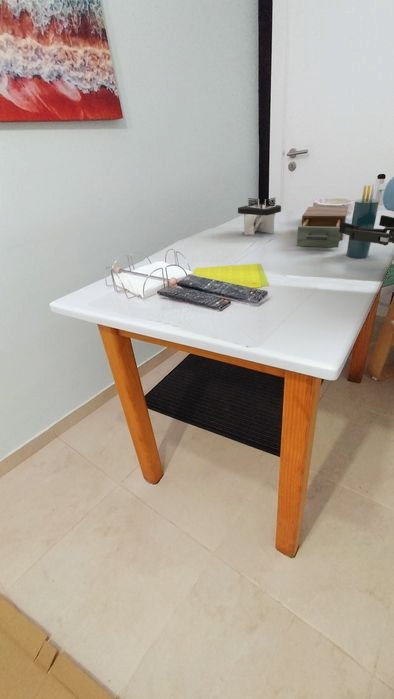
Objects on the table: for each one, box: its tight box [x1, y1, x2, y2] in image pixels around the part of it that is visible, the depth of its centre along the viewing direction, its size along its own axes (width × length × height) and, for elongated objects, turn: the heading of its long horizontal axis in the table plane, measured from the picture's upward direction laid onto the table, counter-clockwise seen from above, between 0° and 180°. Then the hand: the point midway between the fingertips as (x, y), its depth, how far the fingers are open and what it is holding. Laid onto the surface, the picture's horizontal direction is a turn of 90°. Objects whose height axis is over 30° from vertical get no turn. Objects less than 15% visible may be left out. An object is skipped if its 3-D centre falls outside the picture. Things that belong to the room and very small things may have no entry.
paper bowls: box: [312, 197, 355, 217], centre depth 135 cm, size 15×15×8 cm
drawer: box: [296, 218, 341, 248], centre depth 109 cm, size 19×13×6 cm
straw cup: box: [346, 183, 380, 259], centre depth 95 cm, size 6×6×19 cm
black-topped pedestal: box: [237, 196, 282, 236], centre depth 126 cm, size 28×26×13 cm
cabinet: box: [300, 206, 348, 241], centre depth 120 cm, size 16×14×8 cm
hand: (361, 223), depth 95 cm, fingers open, 13 cm apart
